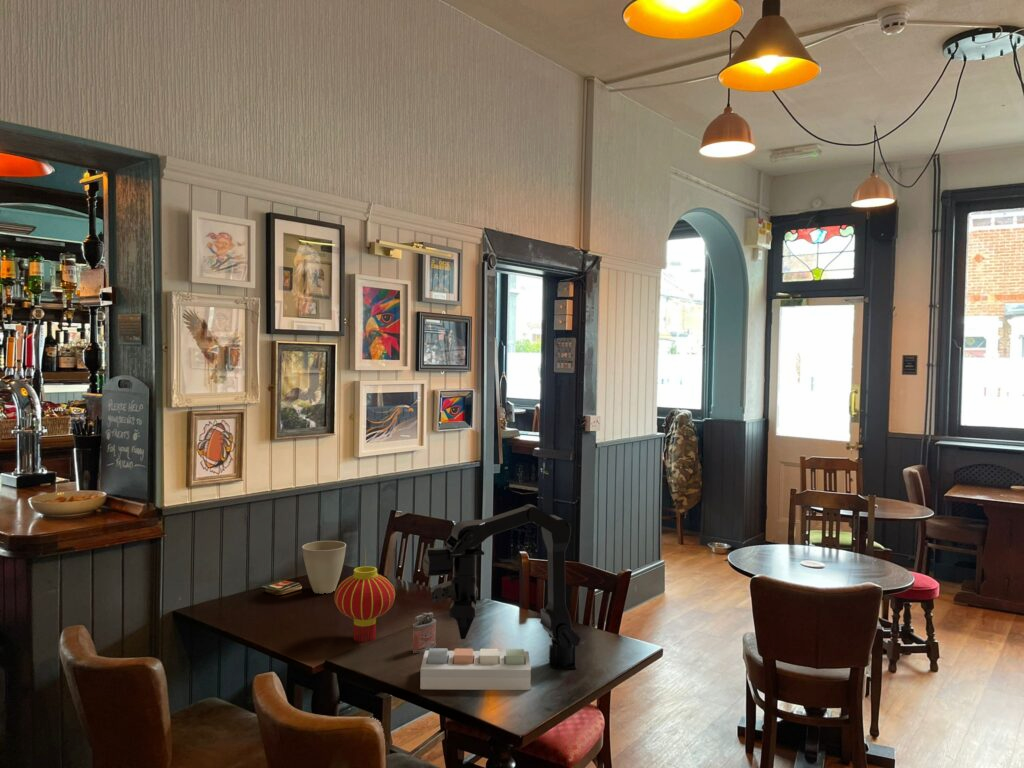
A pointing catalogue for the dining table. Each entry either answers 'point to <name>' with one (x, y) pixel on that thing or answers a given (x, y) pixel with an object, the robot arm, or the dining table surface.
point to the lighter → (424, 633)
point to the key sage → (514, 656)
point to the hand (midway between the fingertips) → (463, 633)
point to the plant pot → (324, 564)
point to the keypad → (476, 674)
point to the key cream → (488, 656)
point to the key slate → (437, 656)
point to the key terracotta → (463, 656)
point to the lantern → (364, 599)
